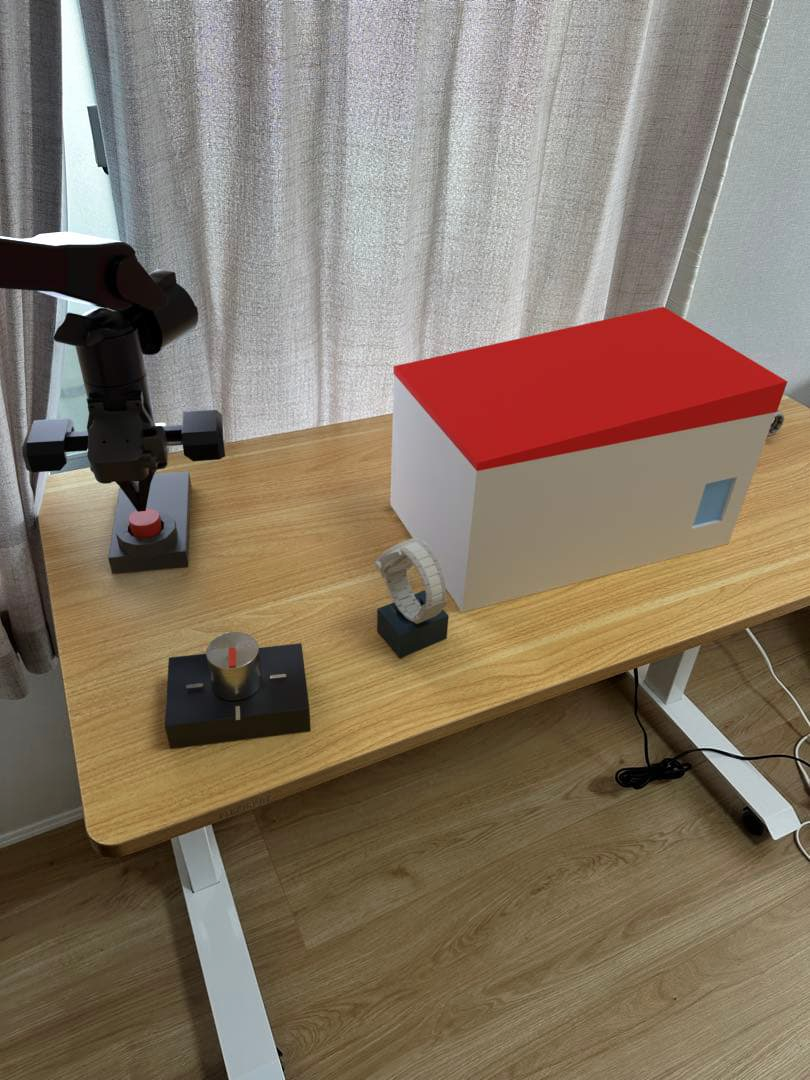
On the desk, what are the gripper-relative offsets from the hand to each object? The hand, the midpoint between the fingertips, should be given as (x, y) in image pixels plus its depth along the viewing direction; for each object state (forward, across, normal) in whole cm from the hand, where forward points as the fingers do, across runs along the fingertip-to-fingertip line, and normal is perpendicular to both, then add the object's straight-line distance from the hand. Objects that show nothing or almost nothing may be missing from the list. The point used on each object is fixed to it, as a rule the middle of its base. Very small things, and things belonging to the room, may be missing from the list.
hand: (142, 509), depth 85 cm
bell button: (+3, 0, 0) cm, 3 cm away
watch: (+7, +26, -16) cm, 31 cm away
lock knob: (+3, +9, -23) cm, 25 cm away
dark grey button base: (+6, 0, +6) cm, 9 cm away
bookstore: (+6, +47, 0) cm, 47 cm away
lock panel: (+6, +9, -23) cm, 26 cm away
